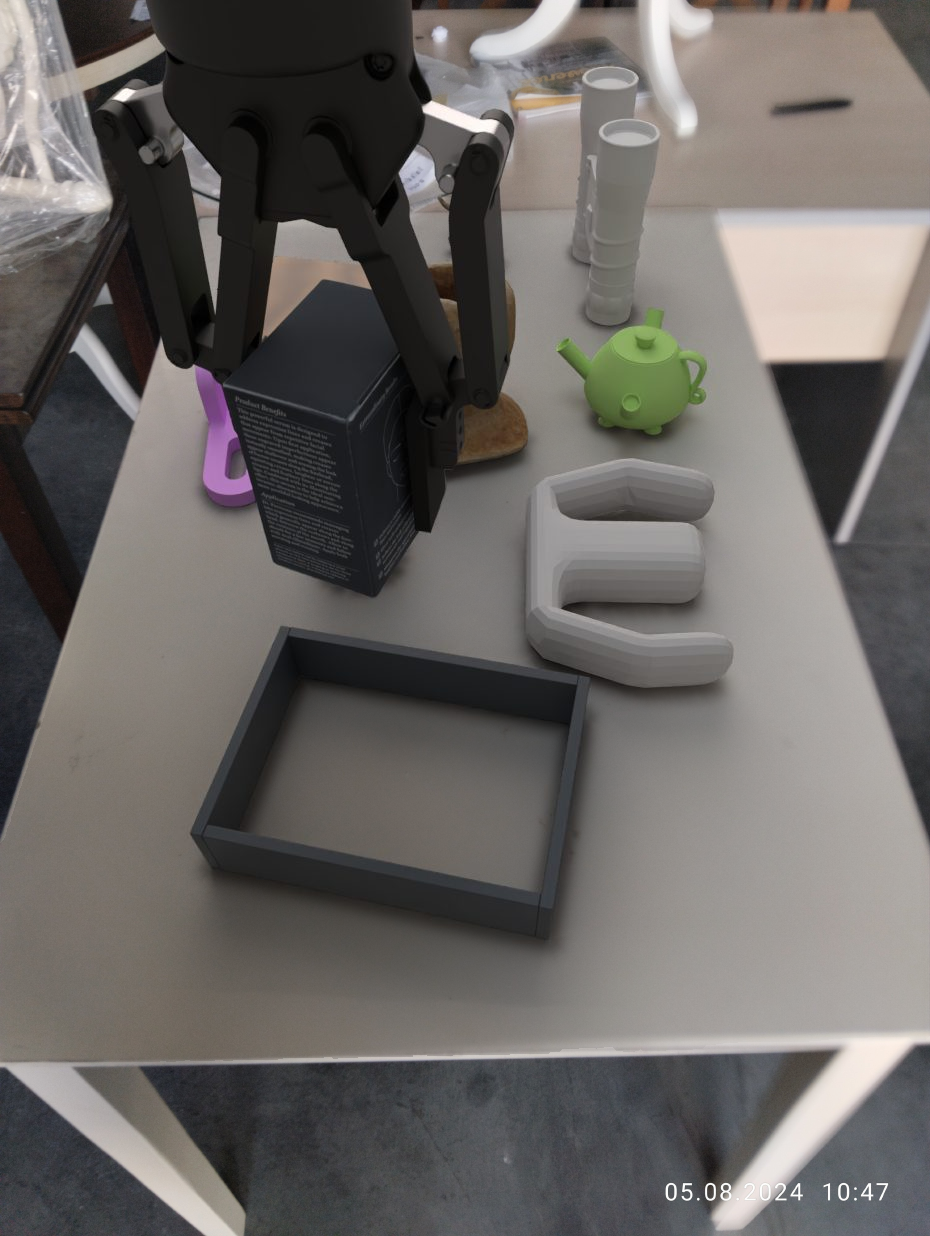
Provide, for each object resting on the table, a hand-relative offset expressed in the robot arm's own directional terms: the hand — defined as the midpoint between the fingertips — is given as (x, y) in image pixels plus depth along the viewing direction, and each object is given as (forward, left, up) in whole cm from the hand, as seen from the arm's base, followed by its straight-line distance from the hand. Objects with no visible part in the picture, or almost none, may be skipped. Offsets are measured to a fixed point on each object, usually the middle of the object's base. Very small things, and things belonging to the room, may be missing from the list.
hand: (358, 498), depth 41 cm
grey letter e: (+13, +18, -25) cm, 33 cm away
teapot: (+11, +40, -25) cm, 48 cm away
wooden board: (-21, +49, -24) cm, 58 cm away
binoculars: (+6, +61, -25) cm, 66 cm away
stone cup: (-5, +33, -25) cm, 41 cm away
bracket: (-22, +27, -25) cm, 42 cm away
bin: (+1, -2, -24) cm, 24 cm away
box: (0, 0, -2) cm, 2 cm away
